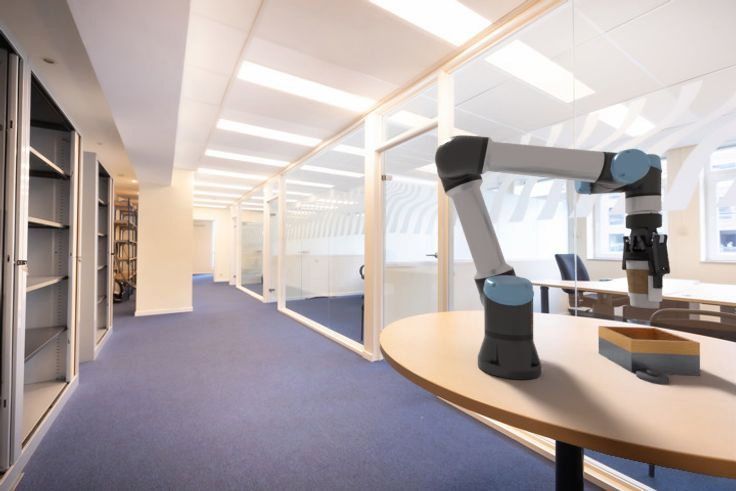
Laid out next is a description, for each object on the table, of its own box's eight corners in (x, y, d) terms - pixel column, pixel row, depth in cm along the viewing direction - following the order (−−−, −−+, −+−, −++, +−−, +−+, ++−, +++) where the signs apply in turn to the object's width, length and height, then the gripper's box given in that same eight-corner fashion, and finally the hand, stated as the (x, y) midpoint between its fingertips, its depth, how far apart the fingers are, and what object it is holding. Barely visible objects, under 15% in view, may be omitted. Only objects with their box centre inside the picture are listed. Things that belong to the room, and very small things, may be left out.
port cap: (647, 384, 75) (647, 374, 75) (630, 374, 81) (630, 365, 81) (676, 386, 74) (676, 376, 74) (657, 375, 80) (657, 366, 80)
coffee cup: (674, 309, 83) (673, 250, 83) (635, 308, 85) (635, 250, 85) (652, 304, 91) (651, 250, 91) (618, 303, 93) (617, 250, 93)
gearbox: (631, 372, 82) (631, 340, 82) (598, 353, 96) (598, 326, 97) (700, 375, 79) (699, 342, 79) (655, 355, 94) (655, 327, 94)
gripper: (690, 208, 78) (691, 305, 77) (633, 216, 98) (634, 293, 98) (654, 209, 79) (655, 304, 78) (606, 217, 99) (607, 293, 99)
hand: (644, 298), depth 88 cm, fingers closed on coffee cup, 8 cm apart
